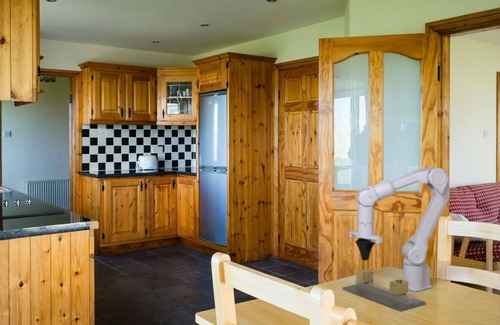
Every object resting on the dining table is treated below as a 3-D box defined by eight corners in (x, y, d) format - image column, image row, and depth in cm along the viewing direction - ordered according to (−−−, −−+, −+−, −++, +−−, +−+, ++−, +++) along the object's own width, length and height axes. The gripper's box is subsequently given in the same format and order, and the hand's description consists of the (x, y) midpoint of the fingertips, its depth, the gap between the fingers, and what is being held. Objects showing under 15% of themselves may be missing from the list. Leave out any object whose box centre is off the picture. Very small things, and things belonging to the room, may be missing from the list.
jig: (366, 284, 177) (367, 266, 177) (425, 304, 155) (426, 284, 155) (342, 289, 171) (342, 271, 171) (400, 311, 149) (400, 290, 149)
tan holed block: (401, 295, 161) (401, 278, 161) (409, 297, 158) (409, 280, 158) (389, 298, 158) (389, 280, 158) (397, 300, 155) (397, 283, 155)
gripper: (343, 220, 177) (343, 257, 178) (372, 226, 165) (372, 265, 165) (357, 218, 181) (357, 254, 181) (386, 224, 168) (386, 262, 169)
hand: (365, 259), depth 174 cm, fingers closed
